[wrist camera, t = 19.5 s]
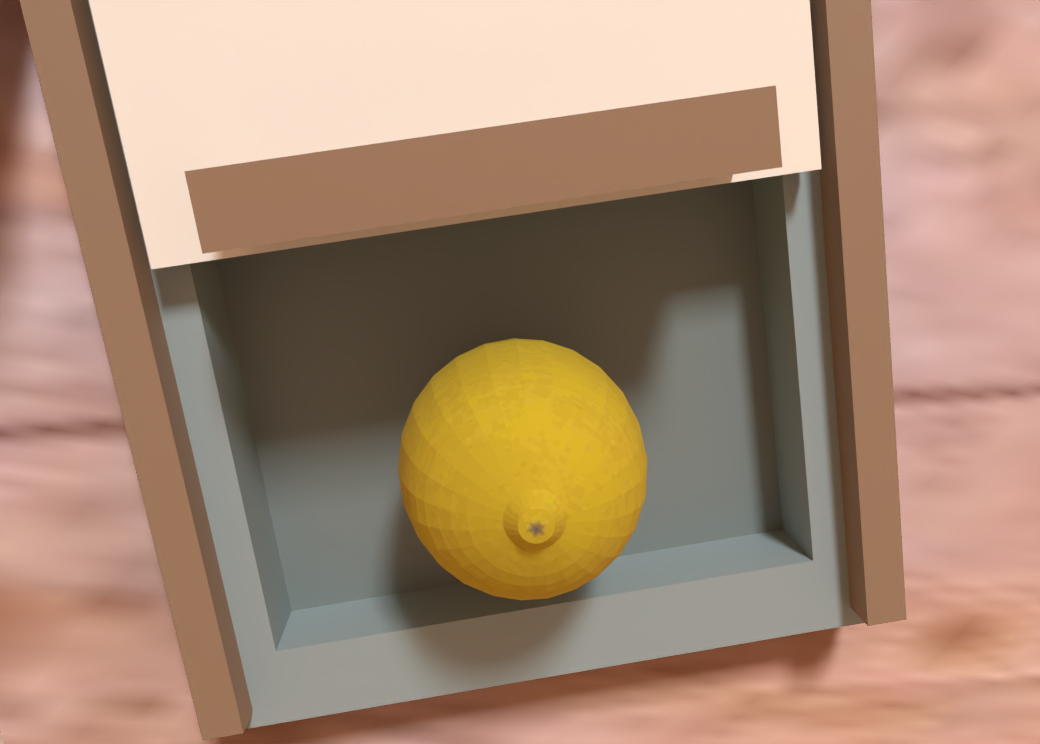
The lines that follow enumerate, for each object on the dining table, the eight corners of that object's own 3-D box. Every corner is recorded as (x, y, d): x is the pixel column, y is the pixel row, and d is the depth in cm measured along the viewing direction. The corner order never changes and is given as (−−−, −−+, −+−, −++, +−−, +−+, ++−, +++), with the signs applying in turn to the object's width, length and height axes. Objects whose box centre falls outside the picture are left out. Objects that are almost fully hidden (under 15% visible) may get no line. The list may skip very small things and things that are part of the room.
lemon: (368, 441, 24) (323, 563, 16) (490, 275, 23) (505, 317, 15) (532, 552, 25) (565, 719, 17) (654, 395, 24) (747, 493, 16)
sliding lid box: (237, 681, 25) (203, 758, 22) (16, -259, 20) (-73, -350, 17) (850, 577, 26) (910, 636, 22) (784, -354, 21) (849, -461, 17)
